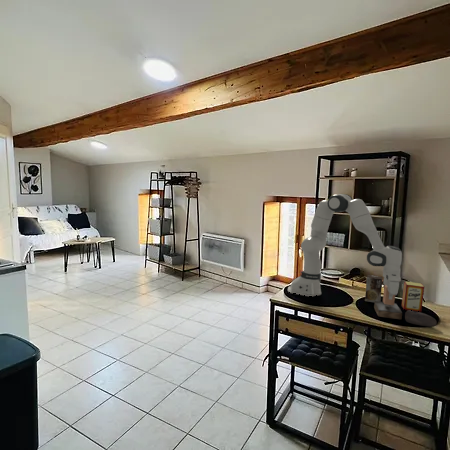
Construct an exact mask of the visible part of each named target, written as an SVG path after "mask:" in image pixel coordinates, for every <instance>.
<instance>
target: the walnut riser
mask: <svg viewBox="0 0 450 450" xmlns="http://www.w3.org/2000/svg"><path fill="white" fill-rule="evenodd" d="M373 303H374V302H373ZM373 308H374V311H375V312H376V315H377V317H379V318H380V317H381V318H387V319H396V320H402V318H403V317H402V316H403V312H402V310H401V308H400V307H399V306H398V304H397V303H394V305H387V304H384V302H383V301H380V302H378V301H375V303H374V305H373Z"/></svg>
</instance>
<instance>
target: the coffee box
mask: <svg viewBox="0 0 450 450" xmlns="http://www.w3.org/2000/svg"><path fill="white" fill-rule="evenodd" d="M383 279H384V277H383V276H381V275H372V274H367V276H366V284H365V296H364V301H365V302H370V303H375V301H378V302H382V301H381V300H382V287H383Z"/></svg>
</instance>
